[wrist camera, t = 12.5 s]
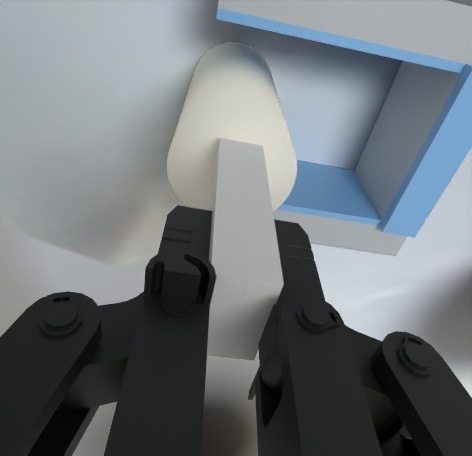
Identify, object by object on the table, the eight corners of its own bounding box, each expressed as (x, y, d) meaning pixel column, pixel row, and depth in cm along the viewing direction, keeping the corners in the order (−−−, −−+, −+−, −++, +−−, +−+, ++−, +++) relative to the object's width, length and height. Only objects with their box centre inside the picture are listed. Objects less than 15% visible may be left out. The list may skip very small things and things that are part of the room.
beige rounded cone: (198, 33, 21) (172, 95, 12) (280, 51, 21) (314, 122, 12) (188, 115, 23) (162, 215, 15) (261, 129, 24) (278, 232, 15)
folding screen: (289, -478, 12) (336, -824, 6) (634, -340, 13) (895, -529, 8) (195, 174, 26) (185, 230, 21) (367, 203, 28) (398, 262, 22)
